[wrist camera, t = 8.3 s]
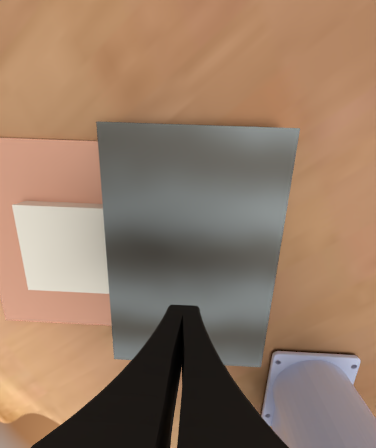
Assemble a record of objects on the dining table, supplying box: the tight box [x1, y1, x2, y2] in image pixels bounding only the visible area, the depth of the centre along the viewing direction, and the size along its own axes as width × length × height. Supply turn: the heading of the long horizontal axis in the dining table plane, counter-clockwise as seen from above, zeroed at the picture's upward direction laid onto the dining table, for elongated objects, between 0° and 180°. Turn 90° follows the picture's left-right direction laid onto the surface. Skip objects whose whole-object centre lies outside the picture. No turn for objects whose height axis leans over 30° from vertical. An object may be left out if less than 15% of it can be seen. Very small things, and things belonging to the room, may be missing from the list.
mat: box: [0, 138, 112, 326], centre depth 19 cm, size 16×10×1 cm, turn 178°
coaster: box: [12, 201, 109, 294], centre depth 18 cm, size 7×7×2 cm
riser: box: [96, 122, 300, 367], centre depth 18 cm, size 18×12×3 cm, turn 178°
